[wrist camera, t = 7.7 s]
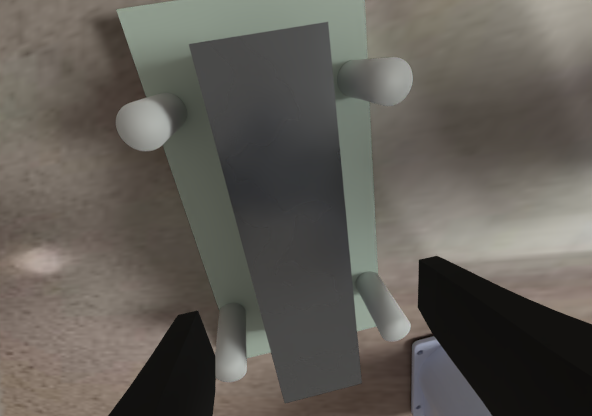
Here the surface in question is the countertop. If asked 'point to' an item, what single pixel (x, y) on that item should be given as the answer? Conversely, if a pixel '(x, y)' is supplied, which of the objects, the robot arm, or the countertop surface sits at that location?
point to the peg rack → (205, 161)
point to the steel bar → (287, 196)
